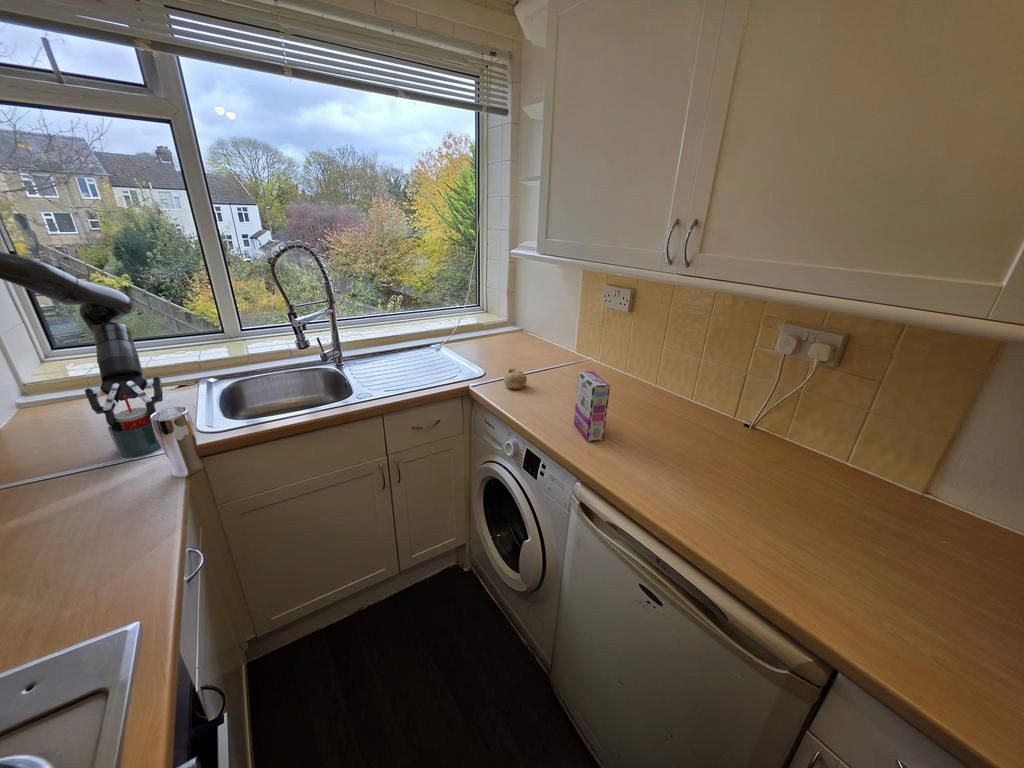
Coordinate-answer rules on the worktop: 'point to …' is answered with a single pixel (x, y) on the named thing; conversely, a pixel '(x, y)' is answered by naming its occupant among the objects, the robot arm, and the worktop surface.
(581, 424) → the candy bar box
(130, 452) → the teal round pot
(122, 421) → the beverage cup
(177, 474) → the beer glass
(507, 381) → the onion
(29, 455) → the worktop surface
